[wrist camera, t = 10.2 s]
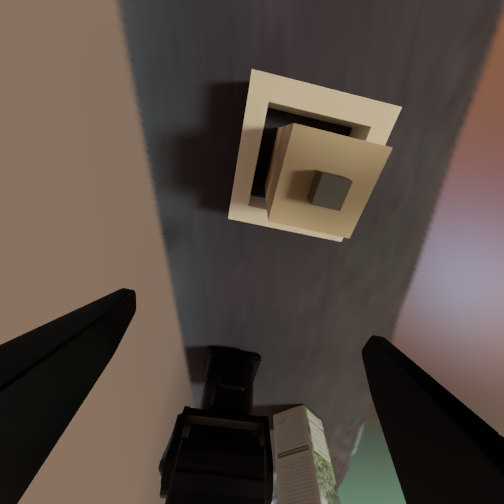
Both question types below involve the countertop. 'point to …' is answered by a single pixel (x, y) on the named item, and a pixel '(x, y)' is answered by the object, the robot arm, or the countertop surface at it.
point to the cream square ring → (304, 104)
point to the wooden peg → (321, 179)
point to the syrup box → (303, 459)
